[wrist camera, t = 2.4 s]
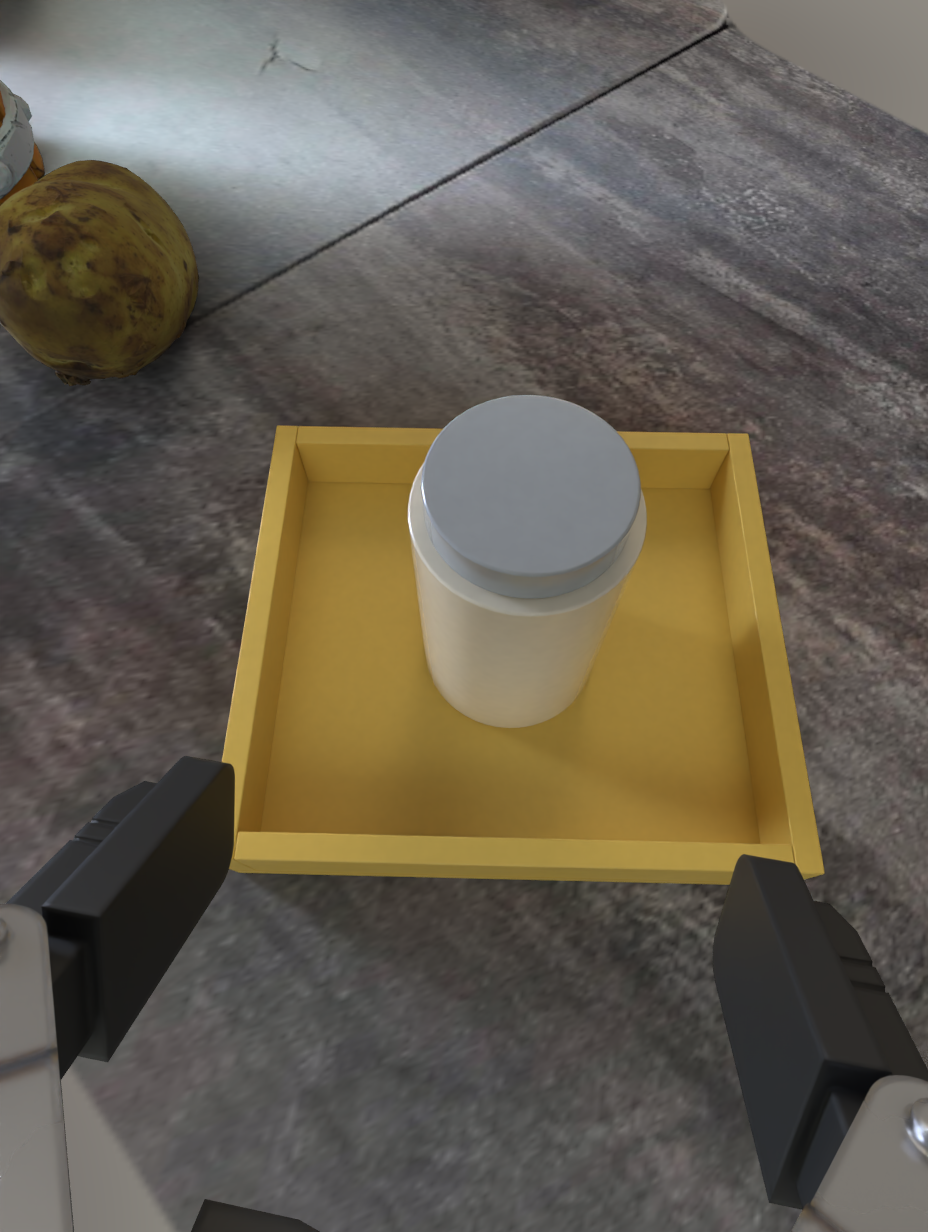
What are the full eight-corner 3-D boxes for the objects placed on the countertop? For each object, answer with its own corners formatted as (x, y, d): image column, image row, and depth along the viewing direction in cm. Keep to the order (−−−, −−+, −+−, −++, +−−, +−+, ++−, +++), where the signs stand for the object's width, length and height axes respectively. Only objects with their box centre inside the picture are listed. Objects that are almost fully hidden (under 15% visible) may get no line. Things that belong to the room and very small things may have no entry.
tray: (721, 484, 31) (748, 433, 28) (781, 886, 24) (825, 874, 21) (294, 477, 31) (276, 425, 28) (237, 872, 24) (205, 859, 21)
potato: (260, 240, 37) (210, 64, 30) (187, 448, 32) (105, 294, 25) (98, 226, 38) (10, 49, 30) (-1, 429, 32) (-136, 273, 25)
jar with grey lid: (588, 576, 28) (648, 383, 19) (596, 730, 26) (670, 594, 16) (428, 572, 28) (410, 378, 19) (421, 726, 26) (396, 589, 16)
